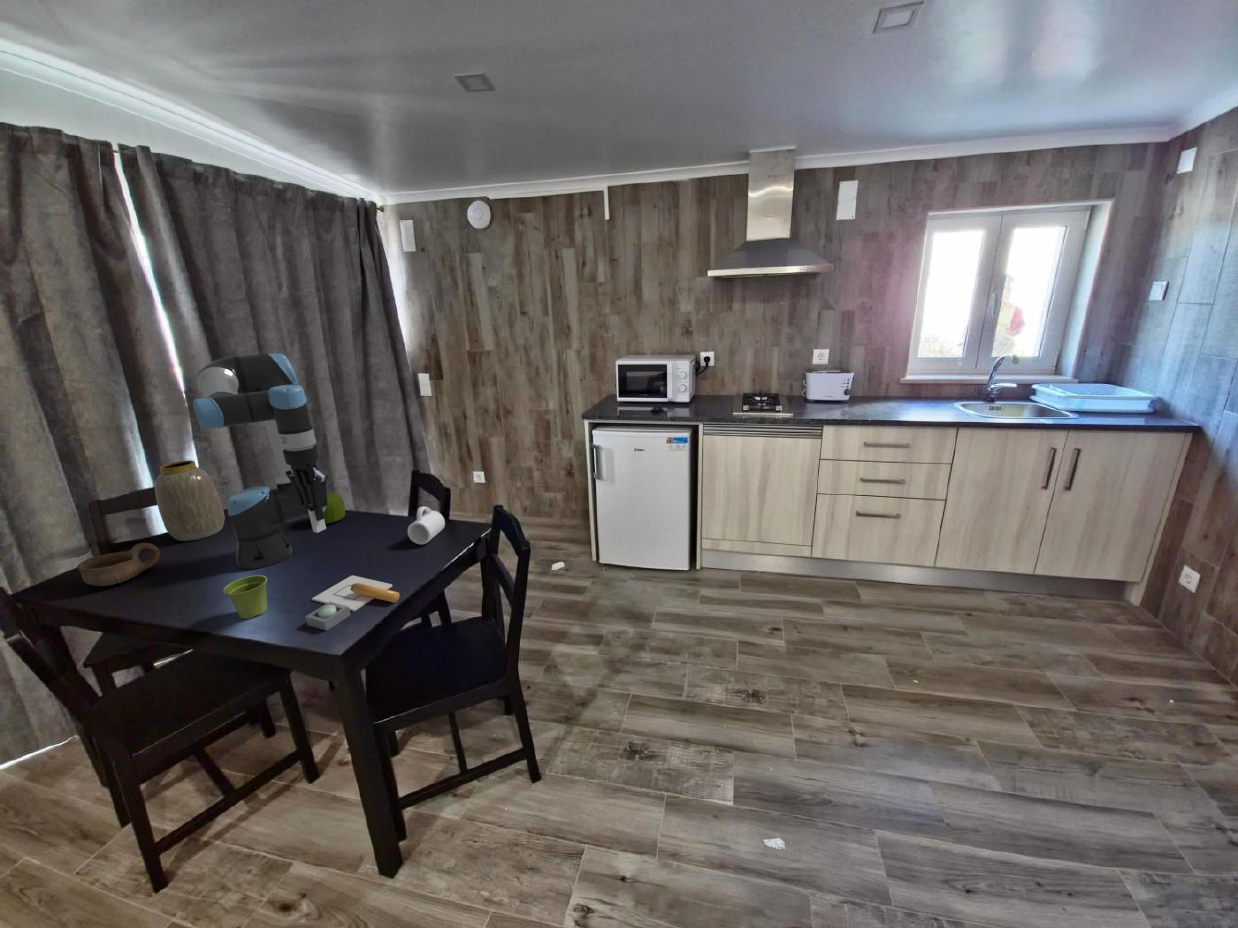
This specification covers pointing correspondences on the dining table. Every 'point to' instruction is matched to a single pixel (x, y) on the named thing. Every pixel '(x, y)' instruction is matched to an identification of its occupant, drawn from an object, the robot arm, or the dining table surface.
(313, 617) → the button housing
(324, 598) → the sheet
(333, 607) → the button
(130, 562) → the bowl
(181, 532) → the vase
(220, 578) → the dining table surface
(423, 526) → the mug
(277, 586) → the dining table surface
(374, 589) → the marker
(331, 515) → the apple
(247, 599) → the plant pot
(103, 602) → the dining table surface
